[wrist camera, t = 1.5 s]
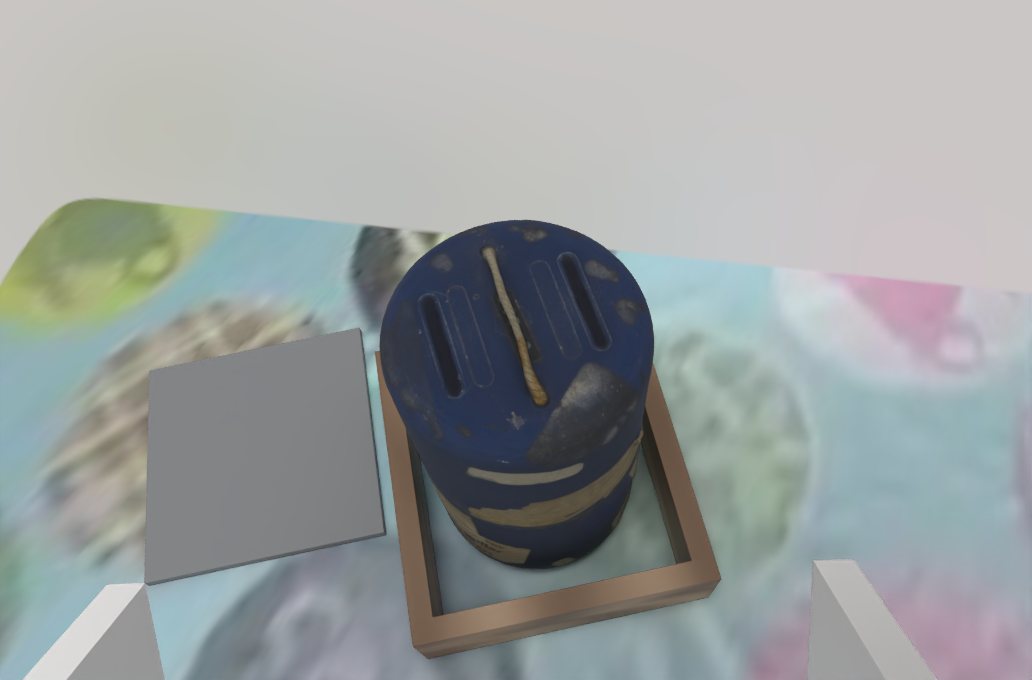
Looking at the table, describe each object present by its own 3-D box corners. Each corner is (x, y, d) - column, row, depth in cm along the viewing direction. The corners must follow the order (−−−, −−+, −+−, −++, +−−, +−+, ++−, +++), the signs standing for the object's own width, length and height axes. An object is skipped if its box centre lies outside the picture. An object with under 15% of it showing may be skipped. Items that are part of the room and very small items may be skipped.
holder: (628, 335, 45) (632, 298, 42) (708, 597, 39) (721, 578, 35) (390, 385, 45) (374, 351, 42) (428, 658, 38) (412, 646, 35)
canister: (620, 392, 44) (643, 174, 28) (642, 570, 39) (685, 429, 24) (443, 405, 44) (369, 197, 28) (445, 583, 40) (357, 453, 24)
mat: (361, 331, 47) (359, 327, 46) (385, 534, 41) (383, 532, 41) (153, 374, 46) (149, 370, 46) (149, 585, 41) (144, 583, 40)
